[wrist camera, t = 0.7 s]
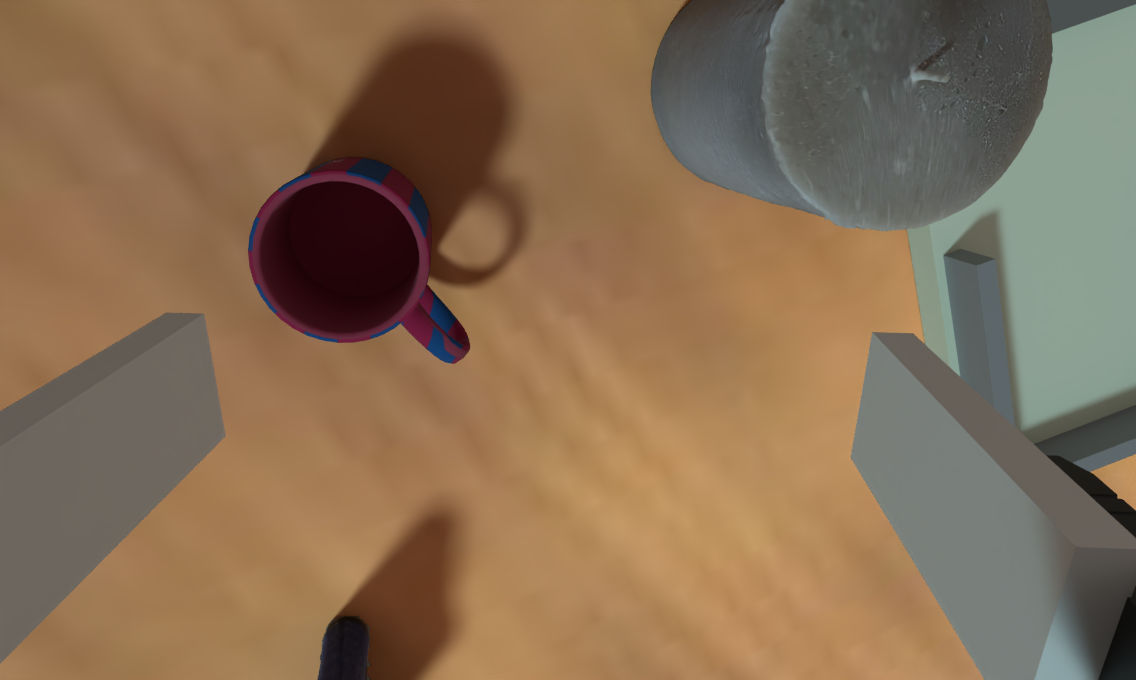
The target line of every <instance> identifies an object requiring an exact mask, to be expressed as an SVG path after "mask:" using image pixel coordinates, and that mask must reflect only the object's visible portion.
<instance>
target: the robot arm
mask: <svg viewBox="0 0 1136 680" xmlns="http://www.w3.org/2000/svg"><path fill="white" fill-rule="evenodd" d="M224 437H225V430H224V425H223V419H222V413H221V408H220V402H219V396H218V390H217V385H216V379H215V373H214V368H213V362H212V356H211V351H210V345H209V339H208V334H207V328H206V322H205V316H204V314H195V313H165V314H163V315H162V316H160V317H158V318H157V319H155V320H153V321H152V322H150V323H148V324H147V325H145V326H143V327H142V328H140V329H138V330H137V331H135V332H133V333H131V334H130V335H128V336H126V337H125V338H123V339H121V340H120V341H118V342H116V343H115V344H113V345H111V346H110V347H108V348H106V349H104V350H103V351H101V352H99V353H98V354H96V355H94V356H93V357H91V358H89V359H88V360H86V361H84V362H83V363H81V364H79V365H78V366H76V367H74V368H72V369H71V370H69V371H67V372H66V373H64V374H62V375H61V376H59V377H57V378H56V379H54V380H52V381H51V382H49V383H47V384H45V385H44V386H42V387H40V388H39V389H37V390H35V391H34V392H32V393H30V394H29V395H27V396H25V397H24V398H22V399H20V400H19V401H17V402H15V403H13V404H12V405H10V406H8V407H7V408H5V409H3V410H2V411H0V663H1V662H2V661H3V660H4V659H5V658H6V657H7V656H8V655H9V654H10V653H11V652H12V651H13V650H14V649H15V648H16V647H17V646H18V645H19V644H20V643H21V642H22V641H23V640H24V639H25V638H26V637H27V636H28V635H29V634H30V633H31V632H32V631H33V630H34V629H35V628H36V627H37V626H38V625H39V624H40V623H41V622H42V621H43V620H44V619H45V618H46V617H47V616H48V615H49V614H50V613H51V612H52V611H53V610H54V609H55V608H56V607H57V606H58V605H59V604H60V603H61V602H62V601H63V600H64V599H65V598H66V597H67V596H68V595H69V594H70V593H71V592H72V591H73V590H74V589H75V588H76V587H77V586H78V585H79V583H80V582H81V581H82V580H83V579H84V578H85V577H86V576H87V575H88V574H89V573H90V572H91V571H92V570H93V569H94V568H95V567H96V566H97V565H98V564H99V563H100V562H101V561H102V560H103V559H104V558H105V557H106V556H107V555H108V554H109V553H110V552H111V551H112V550H113V549H114V548H115V547H116V546H117V545H118V544H119V543H120V542H121V541H122V540H123V539H124V538H125V537H126V536H127V535H128V534H129V533H130V532H131V531H132V530H133V529H134V528H135V527H136V526H137V525H138V524H139V523H140V522H141V521H142V520H143V519H144V518H145V517H146V516H147V515H148V514H149V513H150V512H151V511H152V510H153V509H154V508H155V507H156V506H157V505H158V504H159V503H160V502H161V501H162V500H163V499H164V498H165V497H166V496H167V495H168V494H169V493H170V492H171V491H172V490H173V489H174V488H175V487H176V486H177V485H178V484H179V483H180V482H181V481H182V480H183V479H184V477H185V476H186V475H187V474H188V473H189V472H190V471H191V470H192V469H193V468H194V467H195V466H196V465H197V464H198V463H199V462H200V461H201V460H202V459H203V458H204V457H205V456H206V455H207V454H208V453H209V452H210V451H211V450H212V449H213V448H214V447H215V446H216V445H217V444H218V443H219V442H220V441H221V440H222V439H223V438H224ZM851 459H852V460H853V462H854V464H855V465H856V467H857V469H858V470H859V472H860V474H861V475H862V477H863V479H864V480H865V482H866V484H867V485H868V487H869V489H870V490H871V492H872V494H873V495H874V497H875V499H876V500H877V502H878V504H879V505H880V507H881V509H882V510H883V512H884V514H885V515H886V517H887V519H888V520H889V522H890V524H891V525H892V527H893V528H894V530H895V532H896V533H897V535H898V537H899V538H900V540H901V542H902V543H903V545H904V547H905V548H906V550H907V552H908V553H909V555H910V557H911V558H912V560H913V562H914V563H915V565H916V567H917V568H918V570H919V572H920V573H921V575H922V577H923V578H924V580H925V582H926V583H927V585H928V587H929V588H930V590H931V592H932V593H933V595H934V597H935V598H936V600H937V601H938V603H939V605H940V606H941V608H942V610H943V611H944V613H945V615H946V616H947V618H948V620H949V621H950V623H951V625H952V626H953V628H954V630H955V631H956V633H957V635H958V636H959V638H960V640H961V641H962V643H963V645H964V646H965V648H966V650H967V651H968V653H969V655H970V656H971V658H972V660H973V661H974V663H975V665H976V666H977V668H978V669H979V671H980V673H981V674H982V676H983V678H984V679H985V680H1136V511H1135V510H1134V509H1133V508H1132V507H1131V506H1130V505H1128V504H1127V503H1126V502H1125V501H1124V500H1123V499H1118V498H1117V494H1116V493H1115V492H1113V491H1112V490H1111V489H1110V488H1109V487H1108V486H1107V485H1105V484H1104V483H1103V482H1102V481H1101V480H1100V479H1098V478H1097V477H1096V476H1095V475H1094V474H1092V473H1091V472H1089V471H1087V470H1085V469H1083V468H1081V467H1079V466H1077V465H1075V464H1074V463H1072V462H1070V461H1068V460H1066V459H1064V458H1062V457H1060V456H1057V455H1045V454H1044V453H1043V452H1042V451H1040V450H1039V449H1038V448H1037V447H1036V446H1035V445H1034V444H1033V443H1032V442H1031V441H1030V440H1028V439H1027V438H1026V437H1025V436H1024V435H1023V434H1022V433H1021V432H1020V431H1019V430H1018V429H1016V428H1015V427H1014V426H1013V425H1012V424H1011V423H1010V422H1009V421H1008V420H1007V419H1006V418H1005V417H1003V416H1002V415H1001V414H1000V413H999V412H998V411H997V410H996V409H995V408H994V407H993V406H991V405H990V404H989V403H988V402H987V401H986V400H985V399H984V398H983V397H982V396H981V395H979V394H978V393H977V392H976V391H975V390H974V389H973V388H972V387H971V386H970V385H969V384H967V383H966V382H965V381H964V380H963V379H962V378H961V377H960V376H959V375H958V374H957V373H955V372H954V371H953V370H952V369H951V368H950V367H949V366H948V365H947V364H946V363H945V362H944V361H942V360H941V359H940V358H939V357H938V356H937V355H936V354H935V353H934V352H933V351H932V350H930V349H929V348H928V347H927V346H926V345H925V344H924V343H923V342H922V341H921V340H920V339H918V338H917V337H916V336H915V335H914V334H913V333H880V332H872V337H871V343H870V349H869V355H868V361H867V366H866V372H865V378H864V384H863V390H862V395H861V401H860V407H859V413H858V419H857V425H856V430H855V436H854V442H853V448H852V454H851Z"/></svg>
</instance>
